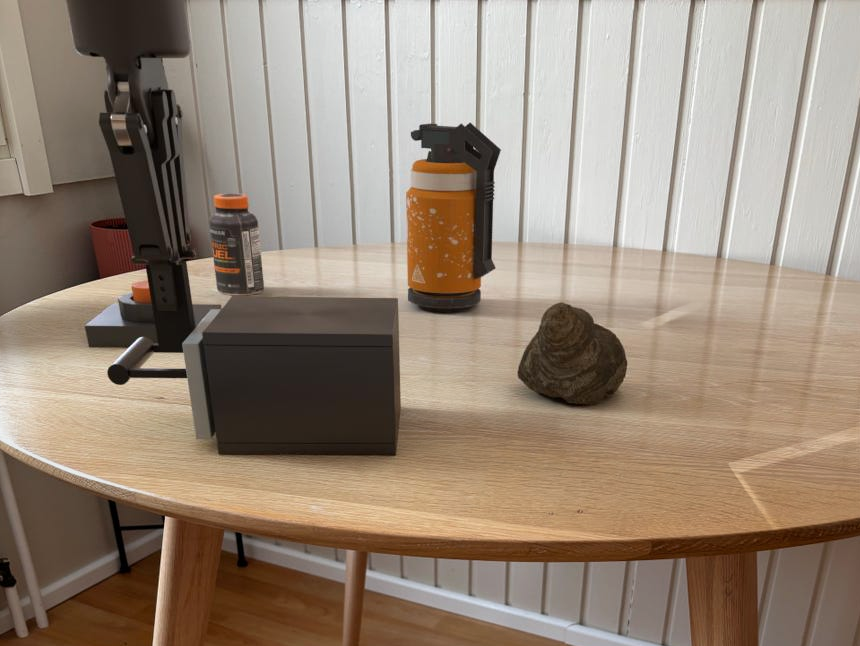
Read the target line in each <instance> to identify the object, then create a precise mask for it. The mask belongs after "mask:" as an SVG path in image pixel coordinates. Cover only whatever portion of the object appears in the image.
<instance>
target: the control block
mask: <svg viewBox="0 0 860 646" xmlns="http://www.w3.org/2000/svg"><path fill="white" fill-rule="evenodd" d="M192 305H193V312H194V319H195V327H197V326H198V324H199V323H200V322H201V321H202V320H203V319H204V317H205V316H206V315H207V314H208V313H209V312H210V310H211V309H222V308H223V306H222V304H213V303H212V304H210V303H209V304H205V303H204V304H203V303H201V304H200V303H192ZM84 331H85V335H86V340H87V344H88V348H123V349H124V348H126V349H128V348H129V347H130V346H131V345H132V344H133V343H134V342H135V341H136V340H137V339H138V338H140V337H147V338H149V339H150V340H152V342H153V343H154V344H158V339H157V333H156V327H155V321H154V315H153V309H152V303H151V302H137V301H134V299H133V293H132V292H129V293H125V294H122V295H121V296H119V297H118V298H117V302H116V303H115V302H113V303H111V304H110V305H108V307H106V308H105V309H104V310H102V311H101V312H100V313H99V314H97V315H96V316H95V317H94V318H92V319H91V320H90V321H89V322H87V323H86V324H85V325H84Z"/></svg>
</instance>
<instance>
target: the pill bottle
mask: <svg viewBox="0 0 860 646" xmlns="http://www.w3.org/2000/svg"><path fill="white" fill-rule="evenodd" d="M248 199H249V198H248V196H247V195H246V194H243V193H218V194H215V195H214V196H213V201H214V208H215V212H214V213H213V214H212V215H211V216H210V217H209V220H208V225H209V233H210V240H211V248H212V257H213V266H214V273H215V274H214V275H215V283H216V289H217V291H218V292H219V293H220V294H222V295H227V296H254V295H257V294H260V293H262V292H263V291H264V290H265V282H264V272H263V263H262V262H263V261H262V251H261V240H260V232H259V221H258V218H257V216H256V215H254V214H253V213H251V212H249V205H250V204H249V200H248Z"/></svg>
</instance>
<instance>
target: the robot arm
mask: <svg viewBox="0 0 860 646" xmlns="http://www.w3.org/2000/svg"><path fill="white" fill-rule="evenodd" d="M65 5H66V9H67V15H68V20H69V26H70V31H71V36H72V37H71V38H72V42H73V48H74V50H75V51H76V52H77V54H79V55H80V56H82V57H89V58H92V57H93V58H103V59H104V62H105V64H106V65H105V74H106V89H105V90H104V93H103V99H104V104H105V112H99V114H98V125H99V127H100V131H101V134H102V136H103V139H104V142H105V144H106V147H107V150H108V152H109V156H110V161H111V166H112V168H113V174H114V177H115V182H116V186H117V189H118V194H119V198H120V202H121V206H122V210H123V211H122V212H123V215H124V219H125V223H126V227H127V231H128V236H129V240H130V244H131V247H132V254H133V256H131V262H132V264H133V265H134V266H145V272H146V277H147V281H148V284H149V290H150V297H151V303H152V309H153V315H154V321H155V327H156V333H157V339H158V346H159V352H183V346H182V343H183V342H184V341H185V340H186V339H187V337H188V336H189V335H190V334H191V333H192V332H193V330H194V329H195V328H196V327H195V319H194V312H193V305H192V304H193V299H192V293H191V292H192V291H191V285H190V277H189V271H188V264H187V263H188V262H187V260H195V259H197V248H188V246H190V245H191V243H192V242H191V241H192V235H191V232H190V230H191V229H190V219H189V207H188V197H187V183H186V182H187V181H186V171H185V160H184V149H183V146H184V145H183V116H184V115H183V110H182V108H181V105H180V104H177V99H176V93H175V90H173V89H170V88H169V83H168V79H167V74H166V70H165V66H164V64H163V63H164V60H163V59H185V58H187V57H188V56H189V55H190V54H191V41H190V32H189V24H188V17H187V10H186V9H187V7H186V2H185V0H65ZM185 259H186V260H185Z"/></svg>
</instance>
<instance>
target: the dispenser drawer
mask: <svg viewBox="0 0 860 646" xmlns="http://www.w3.org/2000/svg"><path fill="white" fill-rule="evenodd" d="M220 310H221V309H211V310H210V312H209V313H208V314H207V315H206V316H205V317H204V319H203V320H202V321H201V322H200V323H199V324H198V326H197V327H196V328H195V329H194V330H193V332H192V333H191V334H190V335H189V336H188V337H187V339H186V340H185V341H184V342H183V343H182V346H183V352H159V346H158V344H154V343H153V342H152V340H150V339H149V338H147V337H140V338H138V339H137V340H136V341H135V342H134V343H133V344H132V345H131V346H130V347H129V348H126V350H125V351H124V352H123V353H122V354H121V355H120V356H118V358H117V359H116V360H115V361H114V362H113V363H112V364H111V365H110V366H108V368H107V372H106V374H107V378H108V379H109V381H110V382H111V383H112V384H115V385H117V386H123V385H126V384H127V383H128V382H129V381H130V379H186V380H187V385H188V386H187V387H188V393H189V399H190V407H191V413H192V420H193V427H194V433H195V439H196V440H209V441H210V440H212V439H213V438H214V436H215V435H216V432H215V425H214V417H213V410H212V402H211V395H210V388H209V380H208V373H207V365H206V358H205V351H204V344H203V337H202V332H203V331H204V330H205V329H206V327H207V326H208V325H209V324H210V322H211V321H212V320H213V319H214V317H215V316H216V315H217V314H218V313H219V311H220ZM155 353H156V354H162V353H163V354H183V358H184V365H185V368H157V367H156V368H151V367H149V368H145V367H143V366H144V364H146V362H147V361H149V359H150V358H151V356H153V354H155ZM141 367H143V368H141Z"/></svg>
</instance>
